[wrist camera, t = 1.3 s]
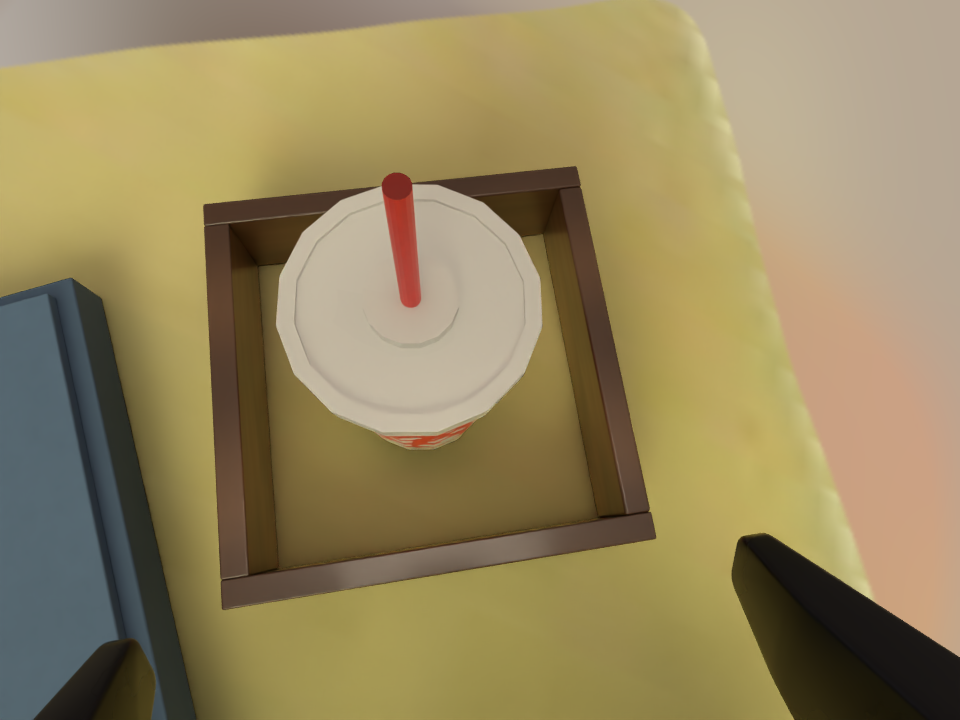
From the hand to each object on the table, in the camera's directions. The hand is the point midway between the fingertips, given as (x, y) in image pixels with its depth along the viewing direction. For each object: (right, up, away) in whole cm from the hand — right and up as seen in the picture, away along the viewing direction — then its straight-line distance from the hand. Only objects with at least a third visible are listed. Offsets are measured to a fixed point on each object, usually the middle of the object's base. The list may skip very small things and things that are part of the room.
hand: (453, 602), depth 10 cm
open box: (-2, +3, +14) cm, 14 cm away
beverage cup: (-2, +3, +14) cm, 14 cm away
